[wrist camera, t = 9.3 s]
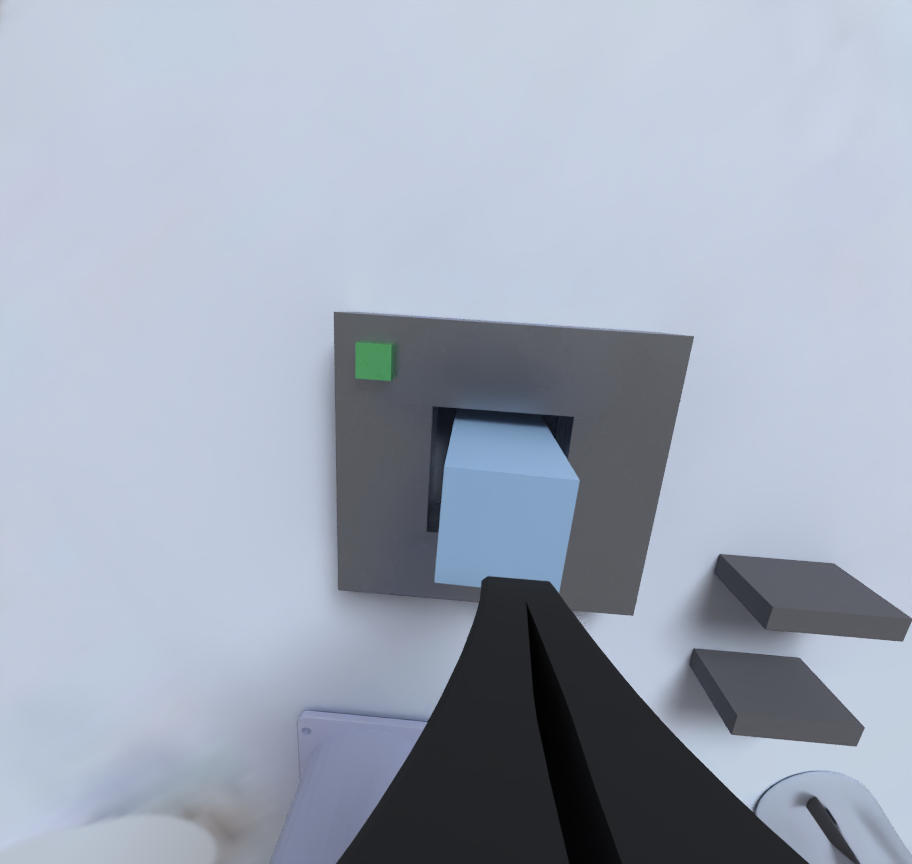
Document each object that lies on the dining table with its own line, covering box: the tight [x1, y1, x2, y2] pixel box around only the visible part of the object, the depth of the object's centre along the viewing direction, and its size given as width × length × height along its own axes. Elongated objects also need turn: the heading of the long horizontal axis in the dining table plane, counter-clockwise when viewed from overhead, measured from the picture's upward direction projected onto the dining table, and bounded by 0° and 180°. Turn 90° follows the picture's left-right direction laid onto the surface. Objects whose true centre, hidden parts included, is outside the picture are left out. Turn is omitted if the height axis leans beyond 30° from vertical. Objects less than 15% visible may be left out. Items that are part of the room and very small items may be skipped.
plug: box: [434, 408, 580, 593], centre depth 15 cm, size 4×4×7 cm
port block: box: [334, 312, 694, 616], centre depth 16 cm, size 11×12×3 cm
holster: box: [690, 554, 912, 746], centre depth 18 cm, size 6×5×4 cm
